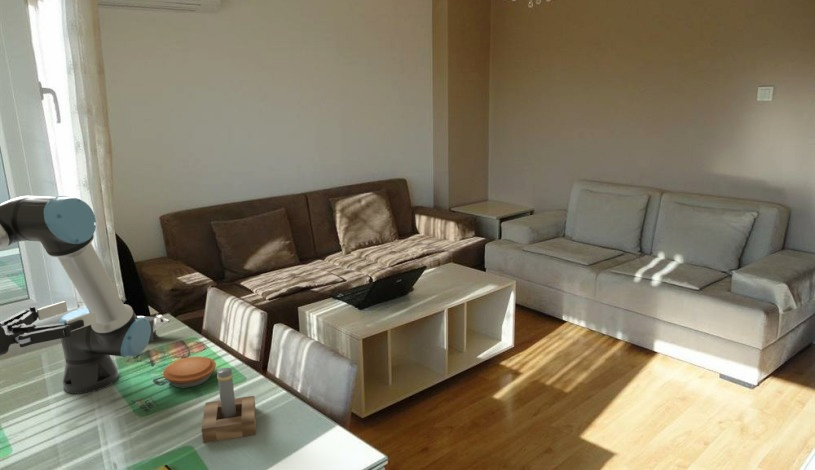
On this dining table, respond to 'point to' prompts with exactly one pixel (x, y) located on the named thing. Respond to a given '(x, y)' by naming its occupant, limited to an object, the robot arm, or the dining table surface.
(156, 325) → the giant panda
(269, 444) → the dining table surface
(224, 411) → the gray cylinder
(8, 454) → the dining table surface
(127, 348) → the robot arm
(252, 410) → the wooden square frame
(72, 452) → the dining table surface
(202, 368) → the pie
